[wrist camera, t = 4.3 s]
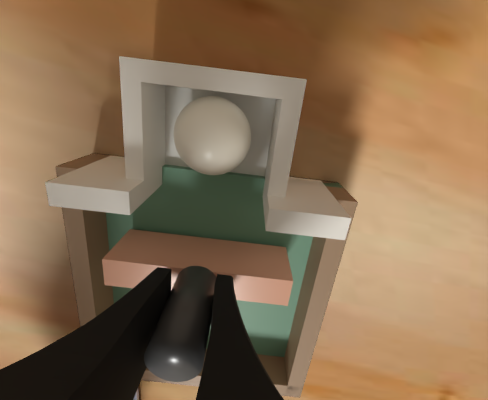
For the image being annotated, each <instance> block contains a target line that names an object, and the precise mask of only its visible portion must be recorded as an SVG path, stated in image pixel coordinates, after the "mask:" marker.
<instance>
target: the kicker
mask: <svg viewBox="0 0 488 400" xmlns="http://www.w3.org/2000/svg"><path fill="white" fill-rule="evenodd" d="M102 264H103V274H104V284H105V285H108V286H117V287H126V288H134V287H135V286H136V285H137V284H139V283H140V282H141V281H142V280H143V279H144V278H145V277H147V276H148V275H149V274H150V273H151V272H152V271H153V270H155V269H156V268H157V267H161V268H169V269H171V292H170V295H169V297H168V299H167V302H166V304H165V307H164V309H163V311H162V314H161V316H160V318H159V321H158V323H157V325H156V328H155V330H154V333H153V335H152V337H151V340H150V342H149V344H148V347H147V349H146V351H145V354H144V362H145V365H146V367H147V368H148V369H149V371H150V372H152V373H153V374H154V375H155V376H157V377H159V378H161V379H164V380H167V381H172V382H183V381H188V380H191V379H193V378H195V377H196V376H198V375H199V374H200V372H201V371H202V368H203V364H204V358H205V353H206V348H207V342H208V337H209V331H210V326H211V320H212V308H213V297H214V286H215V281H216V277H217V274H221V275H230V276H232V277H233V283H234V291H235V296H236V300H240V301H249V302H258V303H267V304H275V305H284V306H288V303H289V298H290V294H291V289H292V285H293V277H292V273H291V268H290V264H289V259H288V255H287V250H286V247H280V246H272V245H263V244H254V243H246V242H237V241H229V240H220V239H211V238H203V237H194V236H186V235H177V234H168V233H160V232H151V231H142V230H134V229H130V230H129V231H128V232H127V233H126V234H125V235H124V236H123V237H122V238H121V239H120V240H119V242H118V243H117V244H116V245H115V246H114V247H113V248H112V249H111V250H110V251H109V252H108V253H107V254H106V255H105V256H104V258H103V259H102Z"/></svg>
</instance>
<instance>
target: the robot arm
mask: <svg viewBox="0 0 488 400" xmlns="http://www.w3.org/2000/svg"><path fill="white" fill-rule="evenodd" d="M170 292H171V269H169V268H161V267H157V268H156V269H155V270H153V271H152V272H151V273H150V274H149V275H148V276H147V277H145V278H144V279H143V280H142V281H141V282H140V283H139V284H137V285H136V286H135V287H134V288H133V289H131V290H130V291H129V292H128V293H127V294H125V295H124V296H123V297H122V298H120V299H119V300H118V301H117V302H115V303H114V304H113V305H111V306H110V307H109V308H107V309H106V310H105V311H103V312H102V313H101V314H99V315H98V316H96V317H95V318H93V319H92V320H90V321H89V322H87V323H86V324H84V325H83V326H81V327H80V328H78V329H76V330H75V331H73V332H72V333H70V334H68V335H66V336H65V337H63V338H61V339H59V340H57V341H56V342H54V343H52V344H50V345H49V346H47V347H45V348H43V349H41V350H39V351H37V352H35V353H34V354H32V355H30V356H28V357H26V358H24V359H22V360H19V361H17V362H15V363H13V364H11V365H9V366H7V367H5V368H3V369H0V400H139V391H138V386H139V384H140V381H141V379H142V377H143V374H144V372H145V370H146V368H147V367H146V365H145V362H144V354H145V351H146V349H147V347H148V344H149V342H150V340H151V337H152V335H153V333H154V330H155V328H156V325H157V323H158V321H159V318H160V316H161V314H162V311H163V309H164V307H165V304H166V302H167V299H168V297H169V295H170ZM196 400H284V399H283V398H282V396H281V395H280V393H279V392H278V390H277V389H276V387H275V385H274V384H273V382H272V380H271V378H270V377H269V375H268V373H267V372H266V370H265V368H264V367H263V365H262V363H261V361H260V359H259V357H258V355H257V353H256V351H255V349H254V347H253V345H252V342H251V340H250V338H249V336H248V333H247V331H246V328H245V325H244V323H243V320H242V317H241V314H240V311H239V307H238V304H237V300H236V296H235V291H234V283H233V277H232V276H230V275H221V274H217V277H216V281H215V286H214V297H213V308H212V320H211V330H210V337H209V342H208V347H207V352H206V356H205V361H204V366H203V370H202V375H201V379H200V384H199V388H198V393H197V397H196Z"/></svg>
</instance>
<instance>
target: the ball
mask: <svg viewBox="0 0 488 400" xmlns="http://www.w3.org/2000/svg"><path fill="white" fill-rule="evenodd" d="M174 143H175V147H176V150H177V152H178V154H179V156H180V157H181V159H182V160H183V161H184V162H185V163H186V164H187V165H188V166H189V167H190V168H192V169H193V170H195V171H197V172H199V173H202V174H206V175H221V174H225V173H227V172H230V171H232V170H233V169H235V168H236V167H237V166H239V165H240V164H241V163H242V161H243V160H244V159H245V157H246V155H247V153H248V151H249V148H250V144H251V130H250V125H249V122H248V120H247V118H246V116H245V114H244V113H243V112H242V110H241V109H240V108H239V107H238V106H237V105H236V104H234V103H233V102H231V101H229V100H227V99H225V98H222V97H218V96H205V97H201V98H198V99H196V100H193V101H192V102H190V103H189V104H188V105H186V106H185V107H184V108H183V110H182V111H181V112H180V114H179V115H178V117H177V120H176V122H175V126H174Z"/></svg>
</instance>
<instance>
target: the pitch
mask: <svg viewBox="0 0 488 400" xmlns="http://www.w3.org/2000/svg"><path fill="white" fill-rule="evenodd" d="M119 64H120V82H121V100H122V118H123V137H124V155H125V157H119V156H111V155H103V154H94V153H92V154H90V155H87V156H84V157H81V158H78V159H75V160H72V161H69V162H67V163H64V164H61V165H58V166H56V173H57V177H56V178H54V179H51V180H49V181H47V182H45V185H46V190H47V196H48V202H49V206H56V207H62V211H63V218H64V224H65V231H66V237H67V244H68V250H69V256H70V263H71V269H72V276H73V282H74V289H75V295H76V302H77V308H78V314H79V321H80V327H81V326H83V325H84V324H86V323H87V322H89V321H90V320H92V319H93V318H95V317H96V316H98V315H99V314H101V313H102V312H103V311H105V310H106V309H107V308H109V307H110V306H111V305H113V304H114V303H115V302H117V301H118V300H119V299H120V298H122V297H123V296H124V295H125V294H127V293H128V292H129V291H130V290H131V289H133V288H126V287H117V286H108V285H105V284H104V274H103V264H102V259H103V258H104V256H105V255H106V254H107V253H108V252H109V251H110V250H111V249H112V248H113V247H114V246H115V245H116V244H117V243H118V242H119V240H120V239H121V238H122V237H123V236H124V235H125V234H126V233H127V232H128V231H129V230H130V229H134V230H142V231H151V232H160V233H168V234H177V235H186V236H194V237H203V238H211V239H220V240H229V241H237V242H246V243H254V244H263V245H272V246H280V247H286V250H287V255H288V259H289V264H290V268H291V273H292V277H293V285H292V289H291V294H290V298H289V303H288V306H284V305H275V304H267V303H258V302H249V301H240V300H237V304H238V307H239V311H240V314H241V317H242V320H243V323H244V325H245V328H246V331H247V333H248V336H249V338H250V340H251V342H252V345H253V347H254V349H255V351H256V353H257V355H258V357H259V359H260V361H261V363H262V365H263V367H264V368H265V370H266V372H267V373H268V375H269V377H270V378H271V380H272V382H273V384H274V385H275V387H276V389H277V390H278V392H279V393H280V395H281V396H290V397H299V398H300V396H301V392H302V389H303V386H304V382H305V379H306V375H307V372H308V369H309V365H310V362H311V359H312V355H313V352H314V348H315V345H316V342H317V338H318V335H319V332H320V328H321V325H322V321H323V318H324V315H325V311H326V308H327V304H328V301H329V298H330V294H331V291H332V288H333V284H334V281H335V277H336V274H337V271H338V267H339V264H340V261H341V257H342V254H343V250H344V247H345V244H346V240H347V237H348V233H349V230H350V227H351V223H352V220H353V217H354V213H355V210H356V206H357V203H358V202H357V201H356V200H355V199H354V198H353V197H352V196H351V195H350V194H349V193H348V192H347V191H346V190H345V189H344V188H343V187H342V186H341V185H340V184H339V183H338V182H329V181H321V180H312V179H304V178H296V177H289V174H290V169H291V163H292V158H293V152H294V147H295V142H296V136H297V131H298V125H299V120H300V114H301V109H302V104H303V98H304V93H305V87H306V82H307V79H301V78H293V77H285V76H277V75H268V74H260V73H252V72H244V71H236V70H228V69H220V68H212V67H204V66H196V65H187V64H179V63H171V62H163V61H155V60H147V59H139V58H131V57H123V56H119ZM205 96H218V97H222V98H225V99H227V100H229V101H231V102H233V103H234V104H236V105H237V106H238V107H239V108H240V109H241V110H242V112H243V113H244V114H245V116H246V118H247V120H248V122H249V125H250V130H251V144H250V148H249V151H248V153H247V155H246V157H245V159H244V160H243V161H242V163H241V164H240V165H239V166H237V167H236V168H235V169H233V170H232V171H230V172H227V173H225V174H221V175H206V174H202V173H199V172H197V171H195V170H193V169H192V168H190V167H189V166H188V165H187V164H186V163H185V162H184V161H183V160H182V159H181V157H180V156H179V154H178V152H177V150H176V147H175V143H174V126H175V122H176V120H177V117H178V115H179V114H180V112H181V111H182V110H183V108H184V107H185V106H186V105H188V104H189V103H190V102H192V101H193V100H196V99H198V98H201V97H205ZM210 330H211V326H210ZM209 337H210V331H209ZM209 337H208V342H209ZM208 342H207V347H208ZM206 352H207V348H206ZM205 356H206V353H205ZM204 361H205V358H204ZM203 366H204V364H203ZM202 370H203V368H202ZM201 375H202V371H201V372H200V374H199V375H198V376H196V377H195V378H193V379H191V380H188V381H183V382H172V381H167V380H164V379H161V378H159V377H157V376H155V375H154V374H153V373H152V372H150V371H149V369H148V368H146V370H145V372H144V374H143V377H142V379H141V380H144V381H154V382H163V383H172V384H181V385H190V386H199V384H200V379H201Z"/></svg>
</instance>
